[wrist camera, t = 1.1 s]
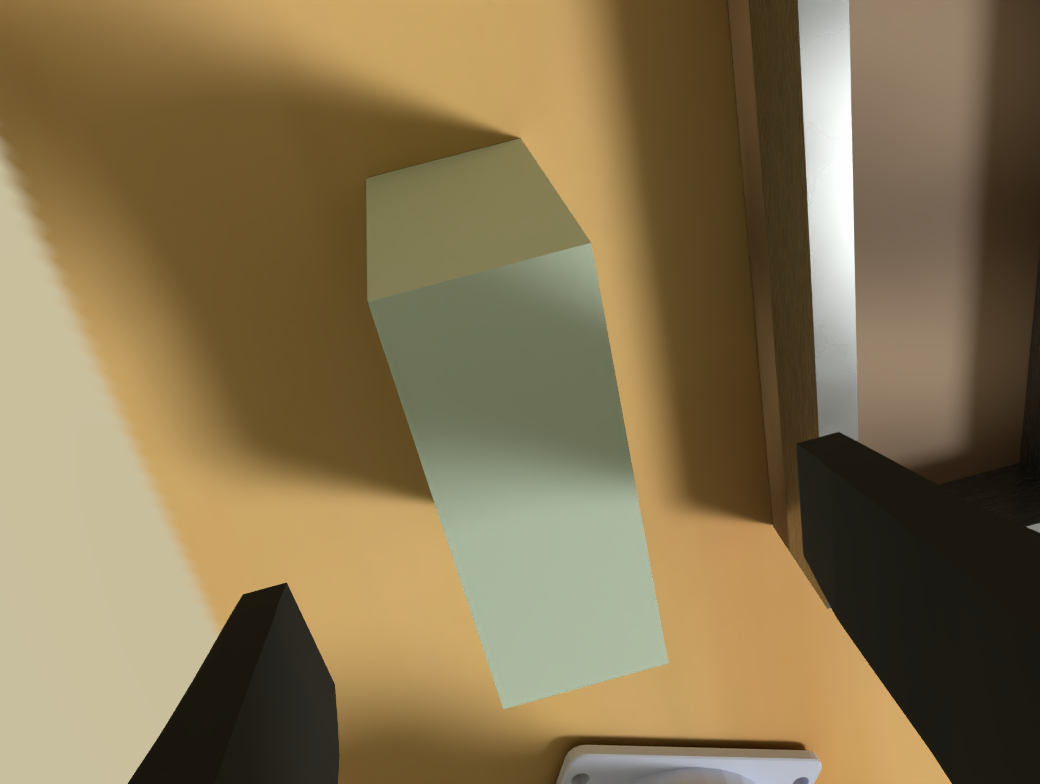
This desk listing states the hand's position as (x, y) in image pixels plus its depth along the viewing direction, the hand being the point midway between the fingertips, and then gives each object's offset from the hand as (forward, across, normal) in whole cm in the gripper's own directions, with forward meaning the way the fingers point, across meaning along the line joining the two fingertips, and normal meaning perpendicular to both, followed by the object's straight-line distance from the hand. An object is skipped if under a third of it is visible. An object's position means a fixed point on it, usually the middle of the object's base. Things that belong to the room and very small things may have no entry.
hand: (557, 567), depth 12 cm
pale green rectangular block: (+7, 0, 0) cm, 7 cm away
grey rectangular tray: (+7, -9, 0) cm, 12 cm away
